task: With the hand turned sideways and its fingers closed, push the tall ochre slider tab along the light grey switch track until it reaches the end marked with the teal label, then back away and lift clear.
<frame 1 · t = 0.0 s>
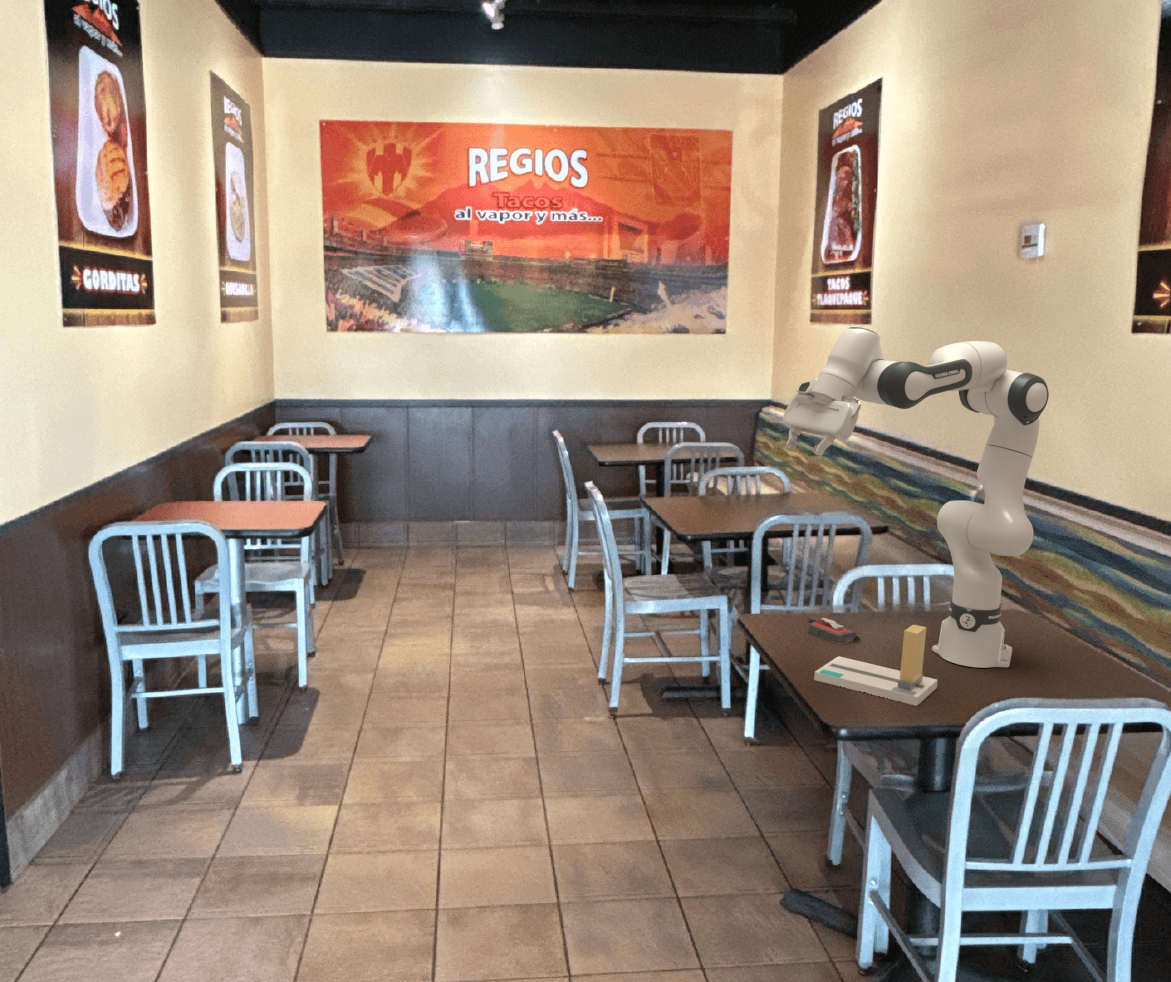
hand: (803, 450, 226), 54 cm above the table, tool tilted 30°, fingers open, 8 cm apart
red toggle switch: (825, 635, 277), on the table
slider tab: (912, 656, 234), point 9 cm above the table, slide at 8.0 cm
switch track: (875, 684, 240), on the table
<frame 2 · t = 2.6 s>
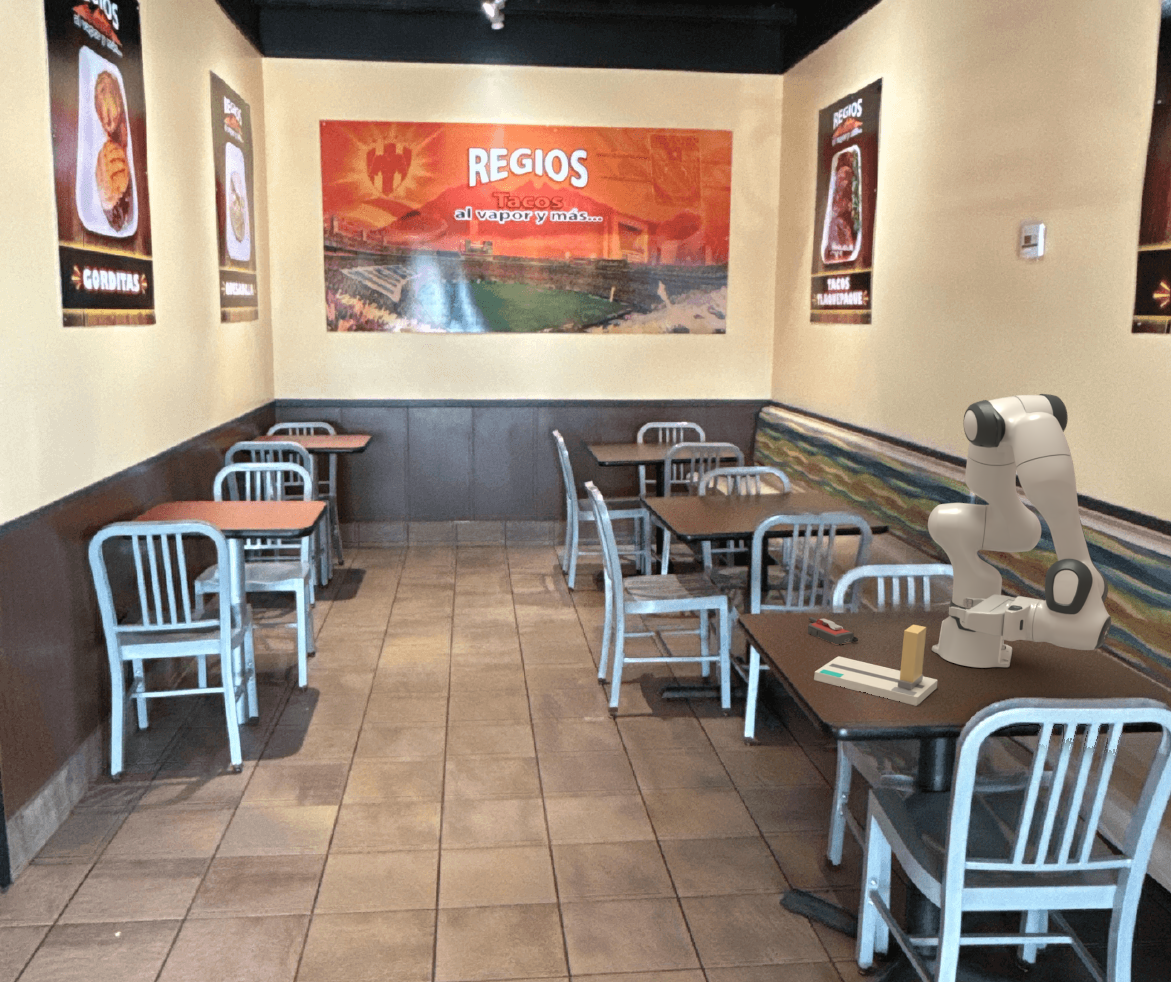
hand: (957, 606, 227), 22 cm above the table, tool horizontal, fingers open, 8 cm apart
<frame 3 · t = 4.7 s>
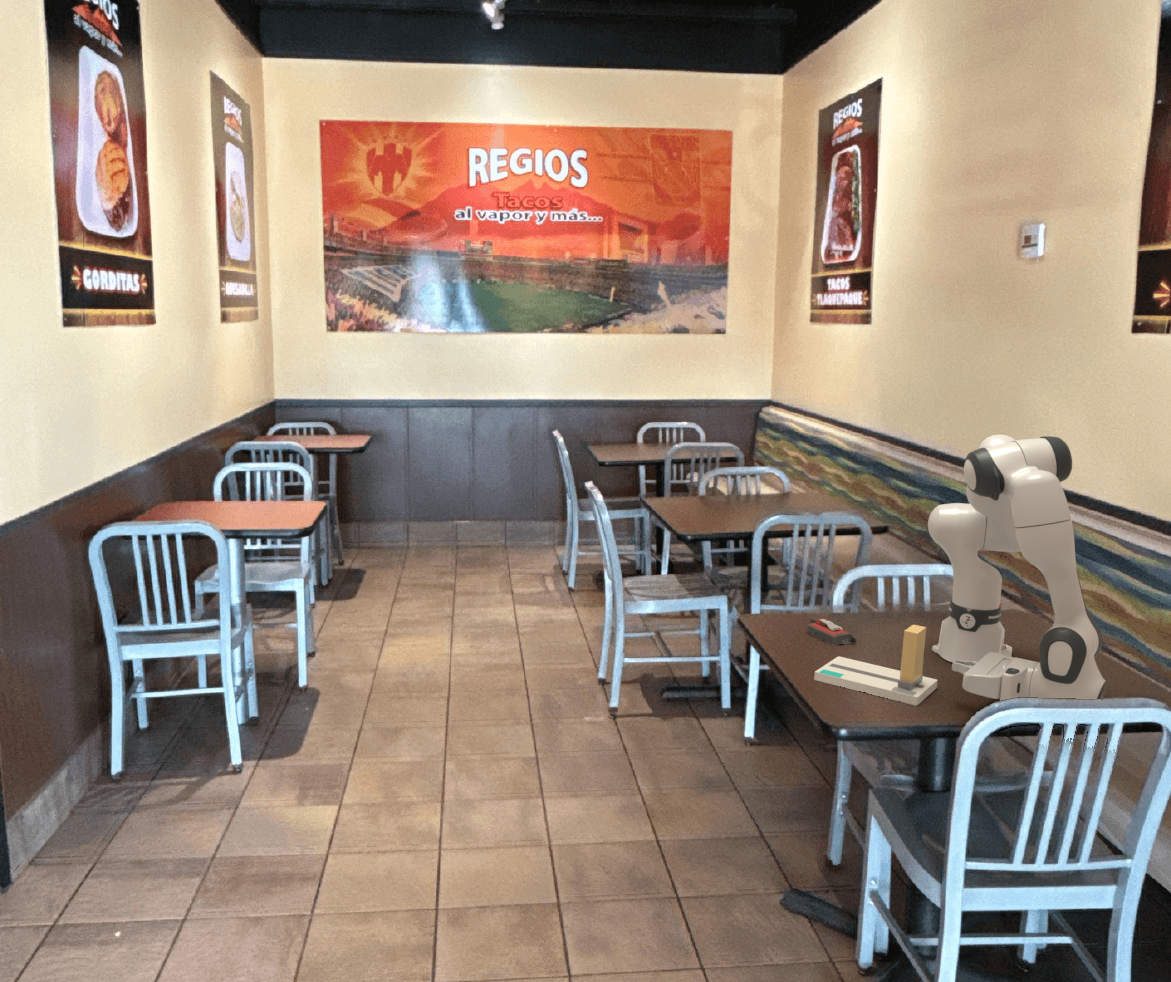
hand: (953, 664, 229), 9 cm above the table, tool horizontal, fingers closed
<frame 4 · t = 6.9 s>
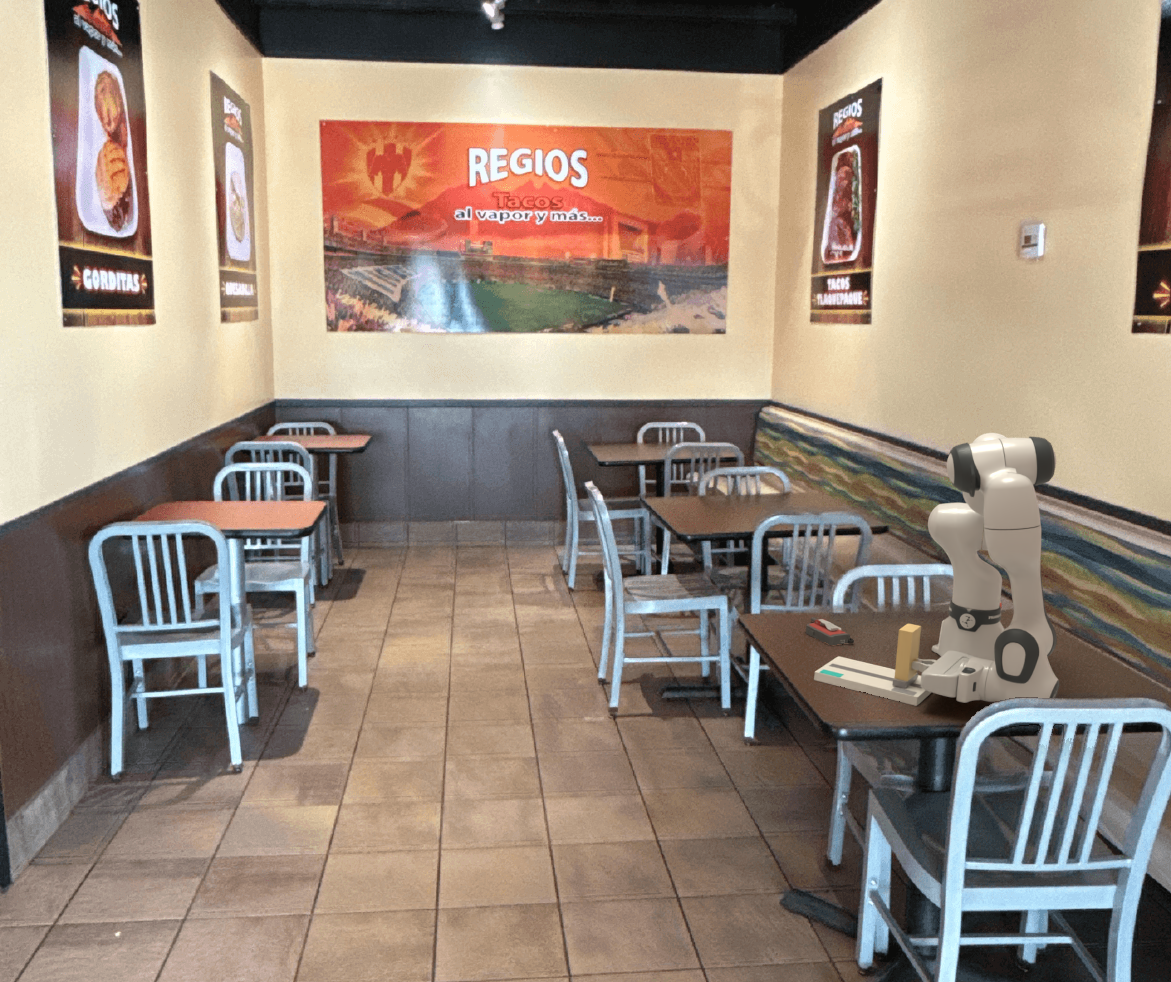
hand: (913, 663, 234), 7 cm above the table, tool horizontal, fingers closed, pressing on slider tab
slider tab: (907, 655, 235), point 9 cm above the table, slide at 6.8 cm, touching gripper
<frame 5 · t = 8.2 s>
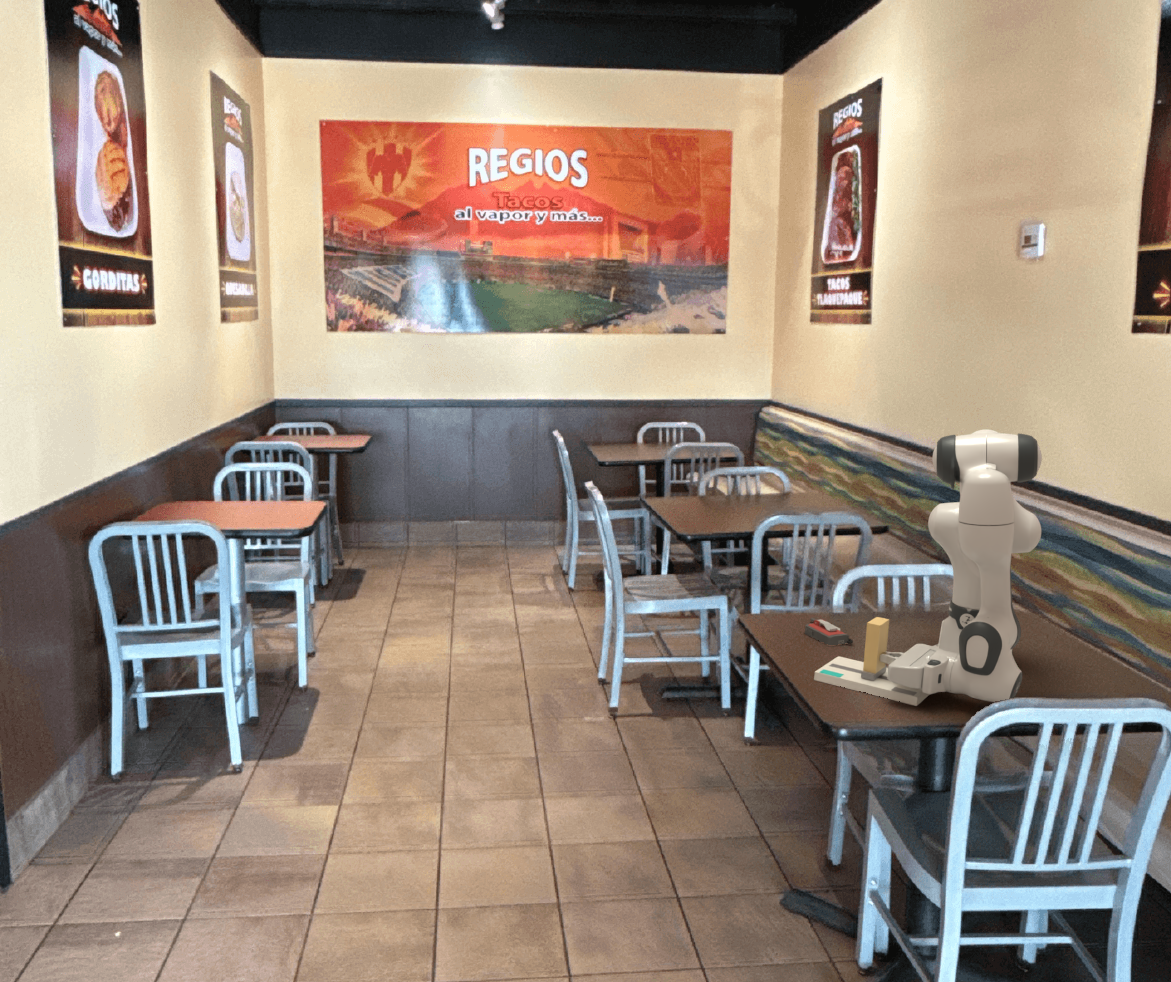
hand: (881, 656, 239), 7 cm above the table, tool horizontal, fingers closed, pressing on slider tab
slider tab: (875, 647, 239), point 9 cm above the table, slide at -0.6 cm, touching gripper
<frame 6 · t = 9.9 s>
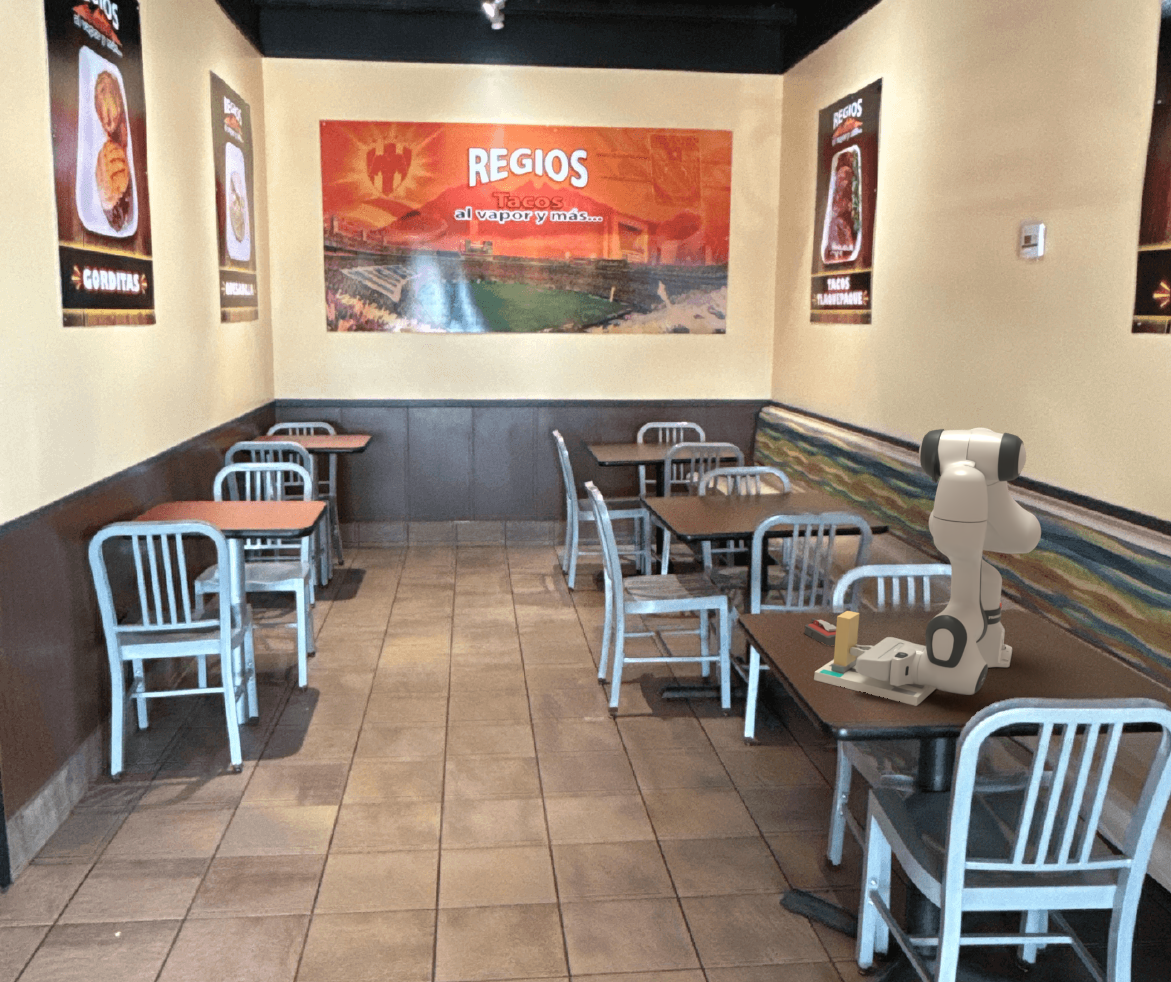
hand: (852, 649, 243), 7 cm above the table, tool horizontal, fingers closed, pressing on slider tab
slider tab: (846, 641, 243), point 9 cm above the table, slide at -7.7 cm, touching gripper
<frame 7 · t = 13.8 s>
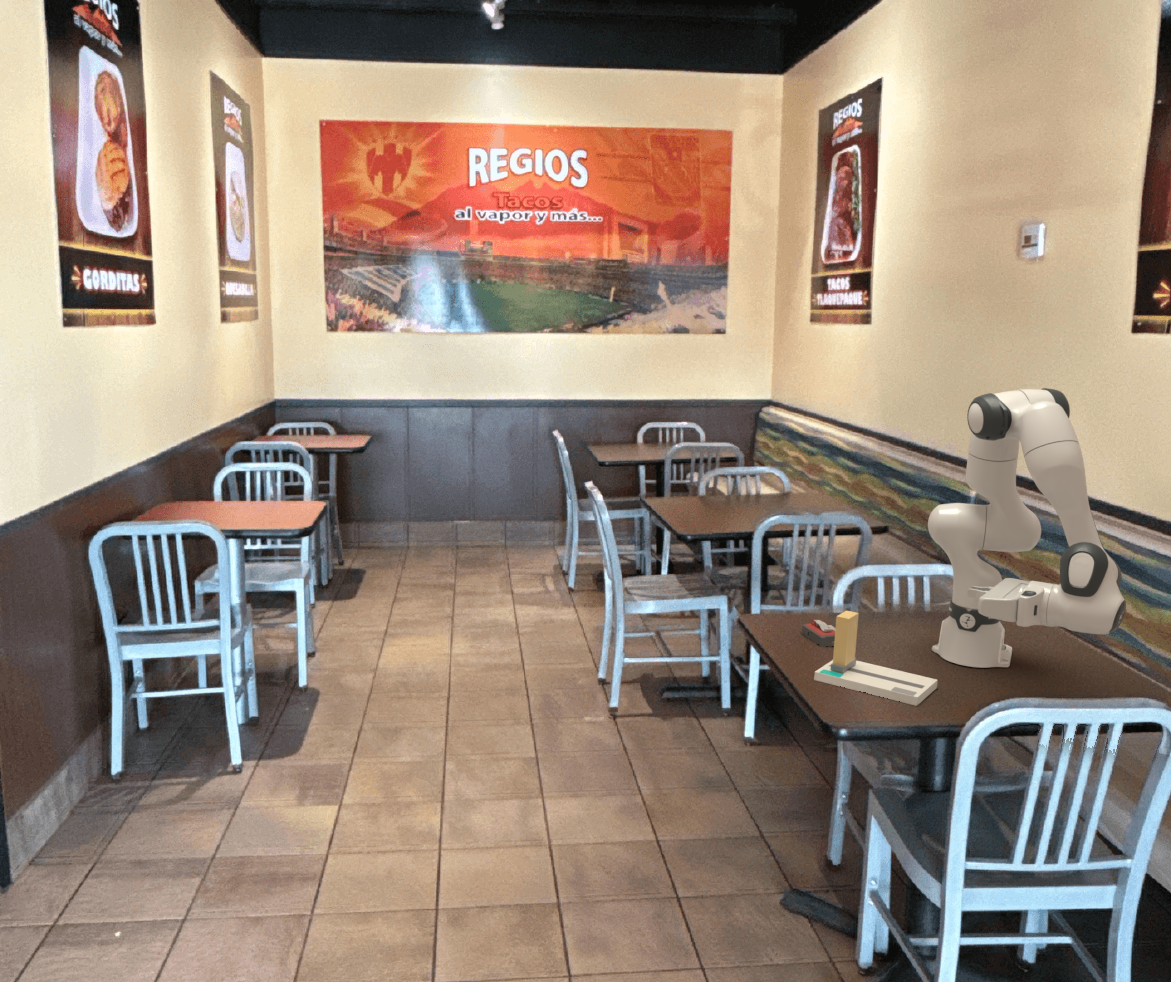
hand: (969, 591, 225), 26 cm above the table, tool horizontal, fingers closed
slider tab: (845, 641, 243), point 9 cm above the table, slide at -7.9 cm
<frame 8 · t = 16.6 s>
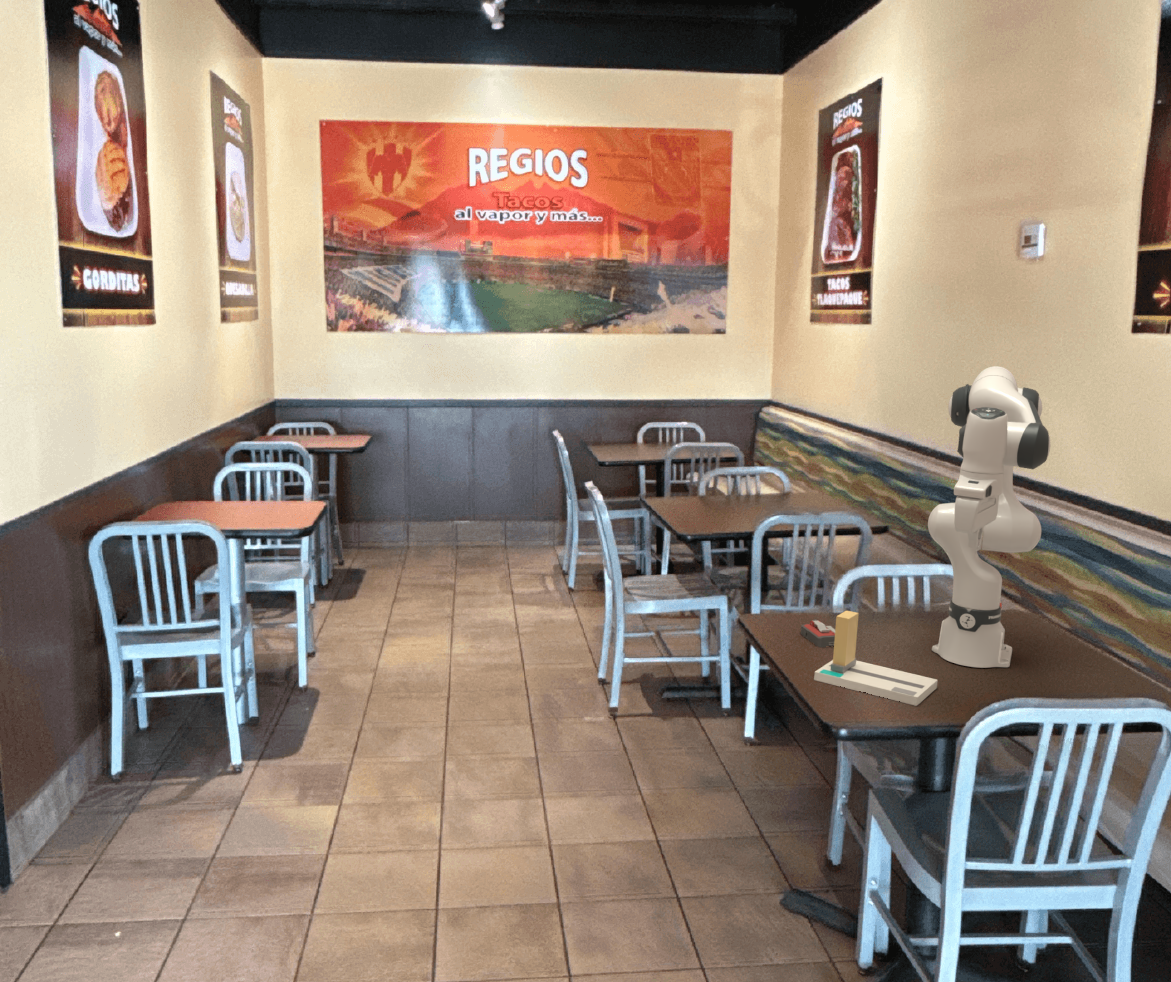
hand: (974, 546, 226), 35 cm above the table, tool pointing down, fingers closed
at the end: slider tab slide at -7.9 cm; red toggle switch moved 3.6 cm from its start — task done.
